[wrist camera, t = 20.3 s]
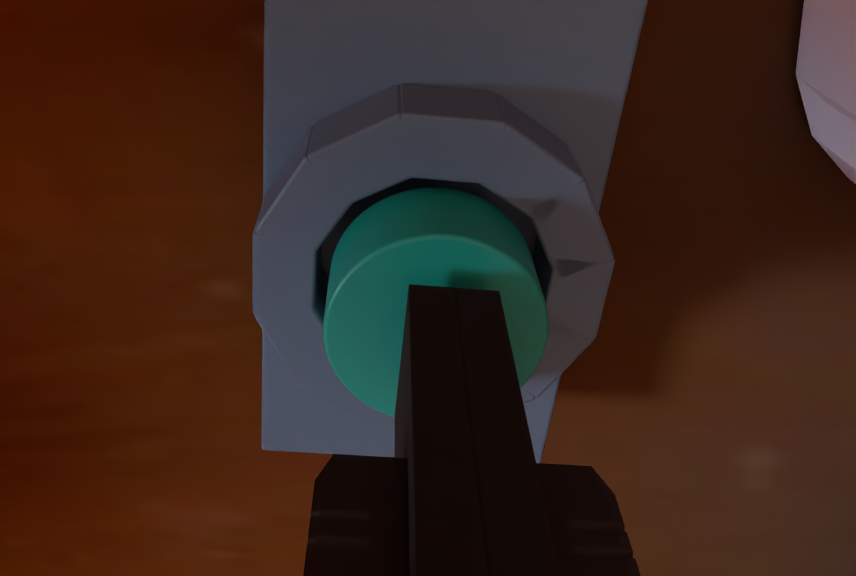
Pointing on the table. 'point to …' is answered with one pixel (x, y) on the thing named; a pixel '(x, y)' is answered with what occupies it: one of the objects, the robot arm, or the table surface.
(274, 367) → the button housing
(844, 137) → the soap bottle
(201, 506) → the table surface
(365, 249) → the teal push button
